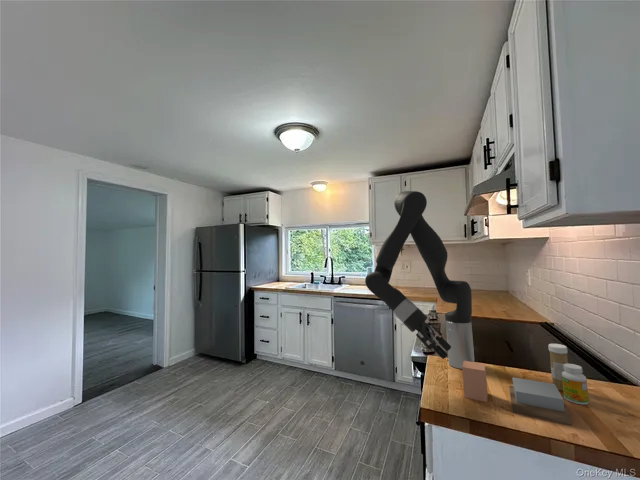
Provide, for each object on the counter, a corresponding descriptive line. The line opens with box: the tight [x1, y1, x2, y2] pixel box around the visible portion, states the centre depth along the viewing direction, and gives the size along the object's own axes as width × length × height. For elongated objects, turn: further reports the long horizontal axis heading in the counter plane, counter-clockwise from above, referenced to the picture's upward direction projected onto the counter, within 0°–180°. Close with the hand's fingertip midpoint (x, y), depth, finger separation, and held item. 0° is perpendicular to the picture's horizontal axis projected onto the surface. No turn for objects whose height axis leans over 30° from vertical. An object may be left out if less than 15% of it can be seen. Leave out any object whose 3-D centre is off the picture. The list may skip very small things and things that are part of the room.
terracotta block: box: [461, 361, 488, 403], centre depth 84 cm, size 6×6×9 cm
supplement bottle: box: [562, 363, 590, 406], centre depth 79 cm, size 5×5×10 cm
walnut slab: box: [509, 385, 572, 426], centre depth 76 cm, size 12×12×3 cm
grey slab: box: [512, 377, 565, 412], centre depth 76 cm, size 10×10×3 cm
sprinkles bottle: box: [547, 343, 569, 392], centre depth 86 cm, size 5×5×13 cm
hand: (447, 353), depth 88 cm, fingers open, 8 cm apart
